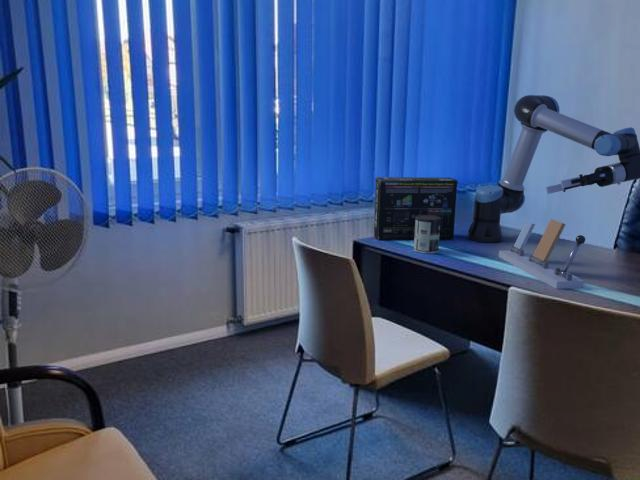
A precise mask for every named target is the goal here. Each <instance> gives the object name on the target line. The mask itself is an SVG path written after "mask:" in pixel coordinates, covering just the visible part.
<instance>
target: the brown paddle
mask: <svg viewBox="0 0 640 480" xmlns="http://www.w3.org/2000/svg"><path fill="white" fill-rule="evenodd" d="M565 227H566V223H563V222H561V221H558V220H554V219H552V218H551V219H550V220H549V223H548V224H547V226H546V228H545V230H544V232H543V234H542V237H541V238H540V240H539V243H538V244H537V246H536V248H535V251H534V252H533V254H532V255H533V256H532V257H531V258H530V259H531V260H532V261H534V262H535V263H537V264H539V265H541V266H543V262H548V260H549V258H550V256H551V254H552V253H553V250H554V249H555V247H556V245H557V243H558V241H559V238H560V236H561V235H562V233H563V231H564V228H565Z"/></svg>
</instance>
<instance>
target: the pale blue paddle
mask: <svg viewBox="0 0 640 480" xmlns="http://www.w3.org/2000/svg"><path fill="white" fill-rule="evenodd" d="M535 226H536V224H535V223H532V222H530V221H527V220H526V221H525V222H524V224H523V226H522V229H521V231H520V233H519V235H518V237H517V238H516V241H515V243H514V247H512V251H514V252H516V253H518V254H519V250H524V248H525V246H526V244H527V242H528V240H529V238H530V237H531V236H530V235H531V234H532V232H533V230H534V228H535Z"/></svg>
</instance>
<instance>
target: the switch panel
mask: <svg viewBox="0 0 640 480" xmlns="http://www.w3.org/2000/svg"><path fill="white" fill-rule="evenodd" d="M514 245H515V244H514ZM514 245H510V247H509V250H499V251H498V258H499V259H501V260H504V261H505V262H507V263H509V264H510V265H513V266H514V267H516V268H518V269H520V270H522V271H523V272H525V273H527V274H529V275H530V276H533V277H534V278H536V279H538V280H539V281H541V282H543V283H545V284H547V285H548V286H550V287H552V288H554V289H556V290H561V289H564V290H565V289H581V288H584V284H585V280H583V279H582V278H580V277H578V276H575V275H574V274H572V273H569V272H568V271H567V273H566V278H565V277H563V276H561V275H559V274H557V273H556V271H557V270H558V269H561V270H562V269H563V268H561V267H557V266H555V265H553V264H551V263H550V262H548V261H547V262H543V266H541V265H539V264H537V263H535V262H534V261H532V260H531V259H530V258H531V257H532V256H533V254H531V253H529V252H528V251H525V250H524V249H523V250H519V254H518V253H516V252H514V251H512V247H514Z"/></svg>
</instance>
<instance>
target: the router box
mask: <svg viewBox="0 0 640 480" xmlns="http://www.w3.org/2000/svg"><path fill="white" fill-rule="evenodd" d="M458 183H459V180H458V179H456V178H452V177H418V176H417V177H416V176H415V177H413V176H412V177H409V176H408V177H405V176H404V177H403V176H402V177H401V176H400V177H398V176H395V177H391V176H390V177H388V176H387V177H385V176H383V177H375V188H374V189H375V190H374V195H375V196H374V217H373V220H374V221H373V237H374V239H376V240H378V241H414V237H415V221H416V218H415V216H417V215H435V216H439V217H441V222H440V235H439V241H440V240H442V241H443V240H447V241H449V240H450V241H451V240H454V234H455V221H456V220H455V218H456V206H457V192H458V191H457V190H458Z"/></svg>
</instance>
